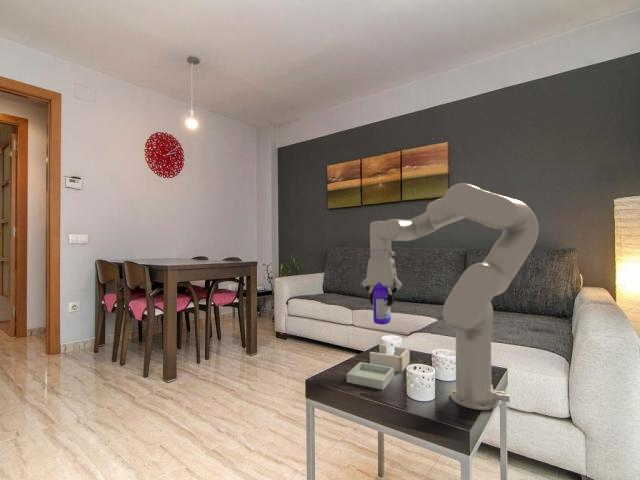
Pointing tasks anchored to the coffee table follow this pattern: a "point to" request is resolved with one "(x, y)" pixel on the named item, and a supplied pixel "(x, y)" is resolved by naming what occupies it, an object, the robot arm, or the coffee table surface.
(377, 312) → the bottle
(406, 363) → the box
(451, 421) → the coffee table surface
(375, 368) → the tray
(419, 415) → the coffee table surface
